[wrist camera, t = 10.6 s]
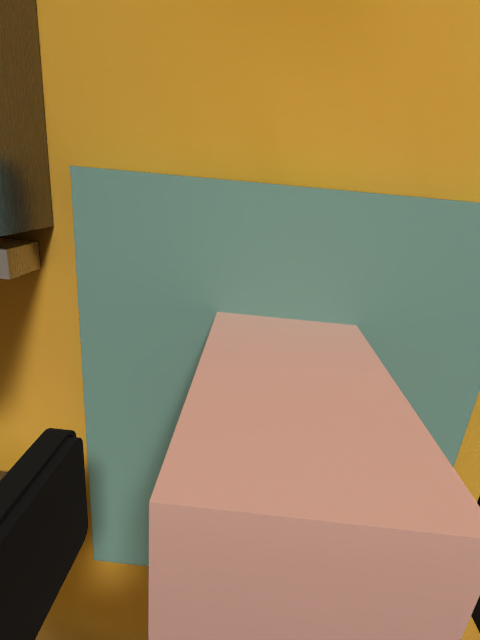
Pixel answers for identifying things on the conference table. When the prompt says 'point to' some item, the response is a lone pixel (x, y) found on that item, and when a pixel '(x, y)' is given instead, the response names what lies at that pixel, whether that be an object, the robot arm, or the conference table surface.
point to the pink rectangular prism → (306, 498)
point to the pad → (254, 307)
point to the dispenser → (21, 140)
